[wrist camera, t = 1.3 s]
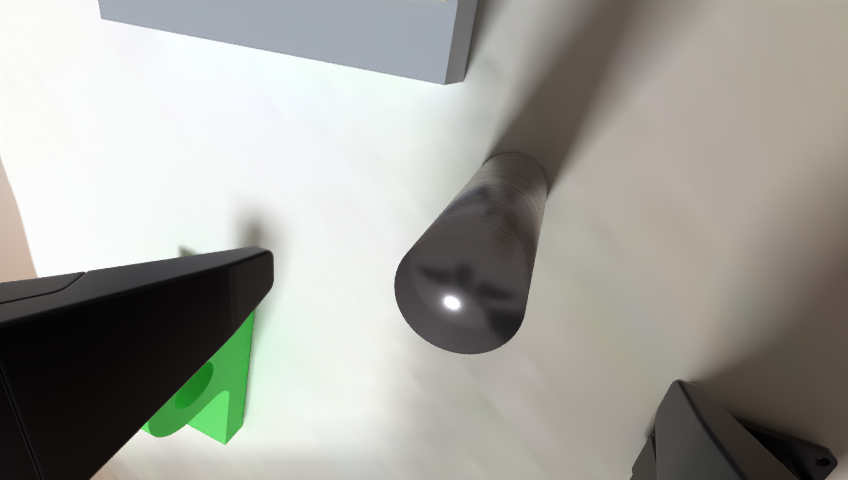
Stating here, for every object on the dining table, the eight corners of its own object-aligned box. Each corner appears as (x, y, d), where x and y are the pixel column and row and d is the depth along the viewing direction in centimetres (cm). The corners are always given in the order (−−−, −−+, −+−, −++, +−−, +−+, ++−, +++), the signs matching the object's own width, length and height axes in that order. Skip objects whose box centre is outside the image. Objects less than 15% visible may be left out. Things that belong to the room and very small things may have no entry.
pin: (556, 161, 18) (542, 257, 9) (536, 229, 19) (507, 371, 10) (483, 144, 18) (403, 219, 10) (469, 211, 20) (387, 330, 11)
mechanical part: (180, 267, 28) (49, 335, 21) (257, 302, 27) (146, 387, 20) (180, 390, 33) (76, 478, 26) (243, 424, 32) (153, 524, 25)
